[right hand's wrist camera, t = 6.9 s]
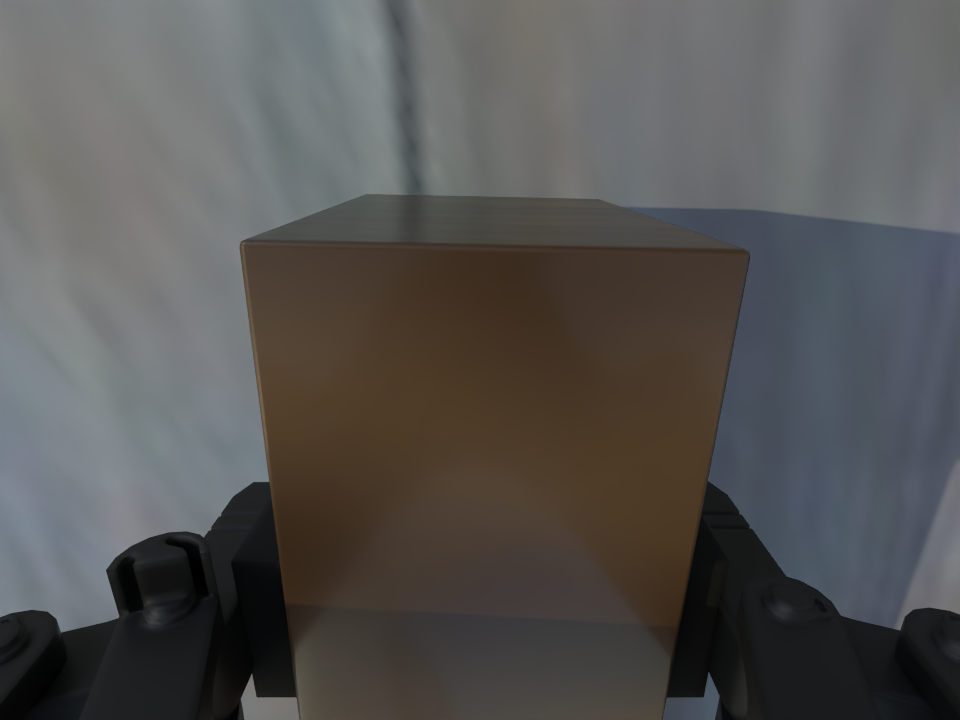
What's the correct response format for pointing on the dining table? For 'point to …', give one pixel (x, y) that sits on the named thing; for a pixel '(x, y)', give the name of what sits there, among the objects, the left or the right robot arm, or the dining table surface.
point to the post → (487, 449)
